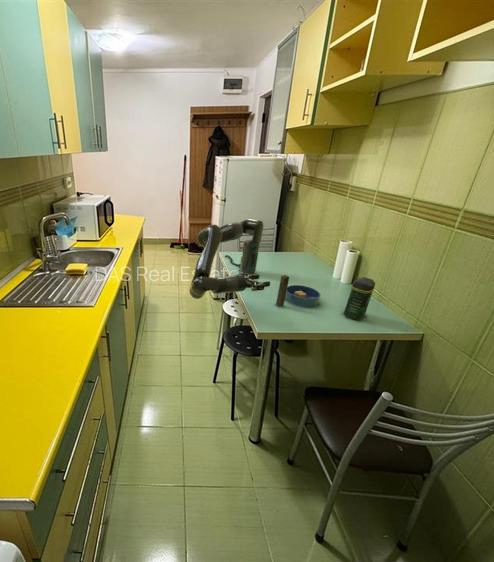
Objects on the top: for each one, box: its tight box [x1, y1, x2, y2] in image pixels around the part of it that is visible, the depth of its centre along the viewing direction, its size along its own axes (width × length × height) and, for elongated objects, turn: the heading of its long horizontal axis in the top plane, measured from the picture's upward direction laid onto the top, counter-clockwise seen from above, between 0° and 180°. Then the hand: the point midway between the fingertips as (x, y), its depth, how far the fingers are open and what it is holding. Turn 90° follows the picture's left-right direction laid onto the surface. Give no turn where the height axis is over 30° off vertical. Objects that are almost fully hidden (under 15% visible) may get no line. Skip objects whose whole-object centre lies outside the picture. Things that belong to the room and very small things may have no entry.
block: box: [294, 291, 307, 298], centre depth 154 cm, size 4×4×4 cm
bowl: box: [285, 284, 321, 308], centre depth 154 cm, size 16×16×5 cm
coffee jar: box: [343, 276, 376, 321], centre depth 138 cm, size 10×8×19 cm
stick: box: [275, 274, 290, 308], centre depth 146 cm, size 3×3×16 cm
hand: (264, 280), depth 139 cm, fingers open, 8 cm apart
